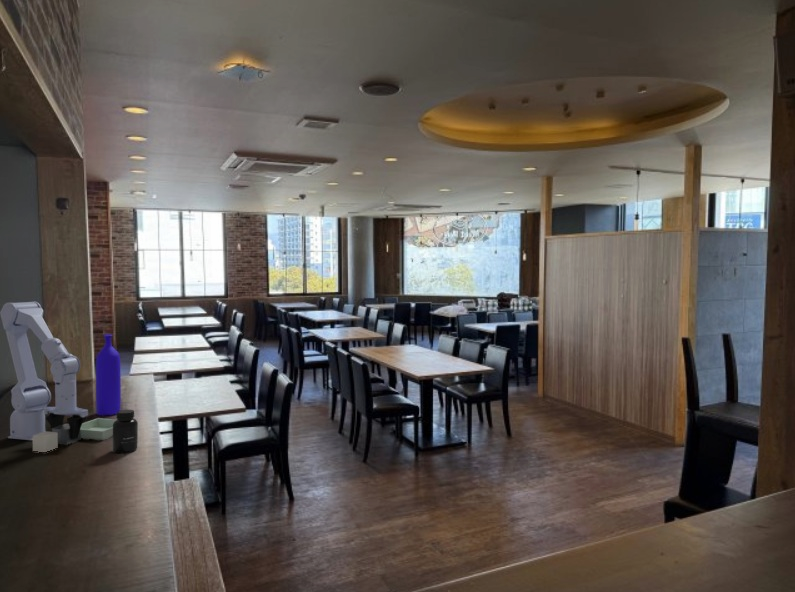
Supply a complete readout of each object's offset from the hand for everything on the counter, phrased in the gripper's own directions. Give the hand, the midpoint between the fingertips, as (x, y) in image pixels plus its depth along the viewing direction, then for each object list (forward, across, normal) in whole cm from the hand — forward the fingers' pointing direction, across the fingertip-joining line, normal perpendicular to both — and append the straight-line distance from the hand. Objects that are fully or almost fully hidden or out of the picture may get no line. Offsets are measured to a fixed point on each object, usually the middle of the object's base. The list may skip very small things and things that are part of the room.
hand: (66, 437), depth 175 cm
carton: (+2, 0, -8) cm, 8 cm away
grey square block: (+1, 0, 0) cm, 1 cm away
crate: (+1, +4, +10) cm, 11 cm away
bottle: (+2, -12, +33) cm, 35 cm away
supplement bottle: (+2, +23, -2) cm, 23 cm away
